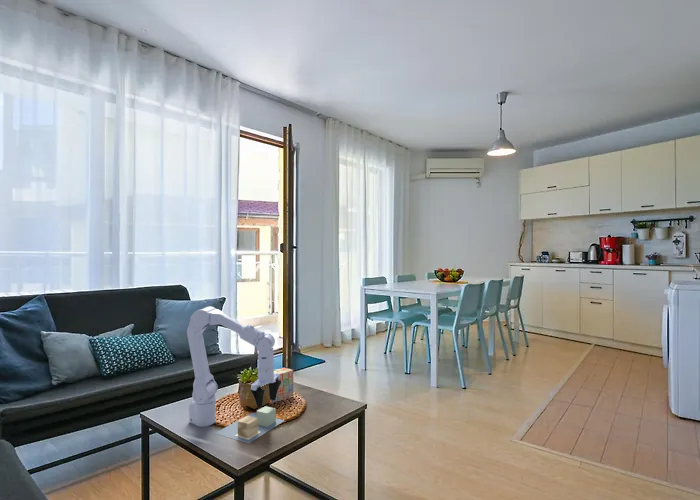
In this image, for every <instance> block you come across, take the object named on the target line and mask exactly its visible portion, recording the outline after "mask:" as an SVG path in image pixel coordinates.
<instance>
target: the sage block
mask: <svg viewBox="0 0 700 500" xmlns="http://www.w3.org/2000/svg"><path fill="white" fill-rule="evenodd" d="M276 409H277V408H275V407H271V406H268V405H266V406H264V407H262V408H258V409H256V413H257V418H258V425H262V426H265V427H268V426H270V425H271V424H273V423H274V422H276V418H277V414H276V413H277V410H276Z"/></svg>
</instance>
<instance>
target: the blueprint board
mask: <svg viewBox="0 0 700 500" xmlns="http://www.w3.org/2000/svg"><path fill="white" fill-rule="evenodd" d="M246 416H250V417H254V418H257V412H251V413H249V414H247V415H245V416H244V417H246ZM241 419H242V418H240V419H238V420H236V421H234V422H233V423H231V424H229V425H227V426H225V427H223V428H221V429H220V430H218V431H216V432H214V434H216V435H219V436H222V437H226V438H229V439H233V440H236V441H240V442H243V443H246V444H251V443H253V442H254V441H255V440H257V439H258V438H260V437H262V436H263V435H265V434H266V433H268V432H269V431H271V430H273V429H274V428H275V427H277V426H279V425H280V424H282V423H283V422H285V421H286V420H284V419H281V418H278V417H276V422H274V423H273V424H271V425H270V426H268V427H265V426H262V425H258V433H256V434H255V435H253V436H252V437H250V438H245V437H242V436H239V435H238V421H239V420H241Z"/></svg>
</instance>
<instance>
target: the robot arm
mask: <svg viewBox="0 0 700 500" xmlns="http://www.w3.org/2000/svg"><path fill="white" fill-rule="evenodd" d="M189 319H190V320H189V323H188V327H187V329H186V336H187V342H188V346H189V352H190V358H191V363H192V368H193V373H194V381H193V383H192V387H193V388H192V389H193V390H192V394H191V396H192V397H191V398H192V400H191V402H190V403H189V406H188V407H189V408H188V422H189V423H190V424H193V425H195V426H196V427H208V426H212V425H213V424H215V423H216V395H215V394H216V393H217V391H218V388H219V386H218V384H217V382H216V381H215V378H214V375H213V374H212V373H211V371H210V368H209V367H210V365H209V362H208V356H207V349H206V346H205V339H204V334H203V333H204V331H206V329H207V327H209V326H214V325H221V326H223V327H224V328H227V329H229V330H231V331H233V332H234V333H237V334H238V336H239V338H240V339H241V340H243V341H244V342H247V343H248V344H250V345H252V346H253V347H256V350H257V351H258V352H257V353H258V356H257V360H258V361H257V367H258V368H257V376H258V377H257V378H258V379H257V380H255V381H254V382H253V383H252V384H250V385H251V388H250V391H251V392H252V394H253V396H254V398H255V401H256V405H257V407H260V408H259V409H261V408H263V407H262V406H263V396H264V393H265V390H264V389H262V388H261V387H262V386H264V385H266V384H268V387H269V396H270V400H275V399H276V395H277V391H278V388H279V386H280V384H281V381H280V380H278V379H280V374H278V373H275V374H274V370H275V368H274V366H275V364H274V363H275V359H274V346H275V344H276V340H275V337H274V336H273V335H272V334H271V333H268V332H267V333H266V332H265V331H260V330H258V329H257V328H255V325H253V324H251V325H250V324H245V325H243V324H242V323H240V322H239V321H237V320H235V319H234V318H232V317H231V316H229V315H228V314H226V313H224V312H222V310H220V309H218V308H215V307H214V306H211V305H210V306H206V307H203V308H201V309H197V310H195V311H194V312H193V314H192V315H191V316H190V317H189Z"/></svg>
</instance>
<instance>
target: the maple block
mask: <svg viewBox="0 0 700 500" xmlns="http://www.w3.org/2000/svg"><path fill="white" fill-rule="evenodd" d="M245 416H246V417H245ZM245 416H244V417H242V418H240V419H241V420H240V419H238V420H239V421H238V420H237V421H238V435H239V436H242V437H245V438H250V437H252V436H253V435H255V434H256V433H258V418H254V417H250V416H247V415H245Z"/></svg>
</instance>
